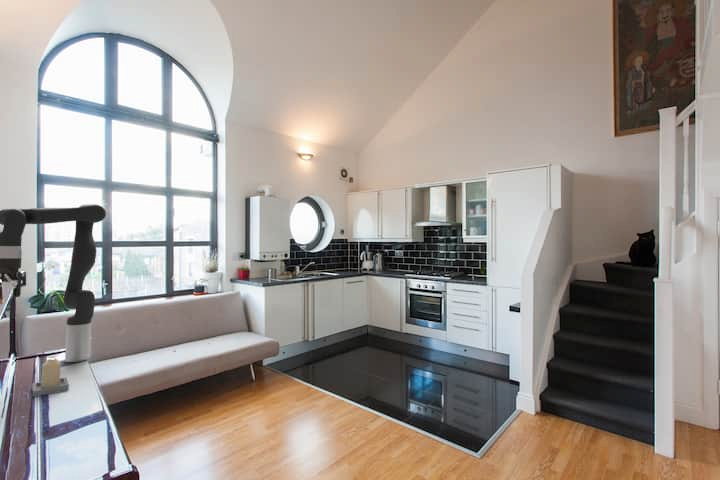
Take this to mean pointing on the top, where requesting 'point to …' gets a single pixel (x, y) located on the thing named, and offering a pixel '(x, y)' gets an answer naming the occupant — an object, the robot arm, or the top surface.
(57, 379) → the candle
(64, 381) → the holder
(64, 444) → the top surface
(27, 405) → the top surface
